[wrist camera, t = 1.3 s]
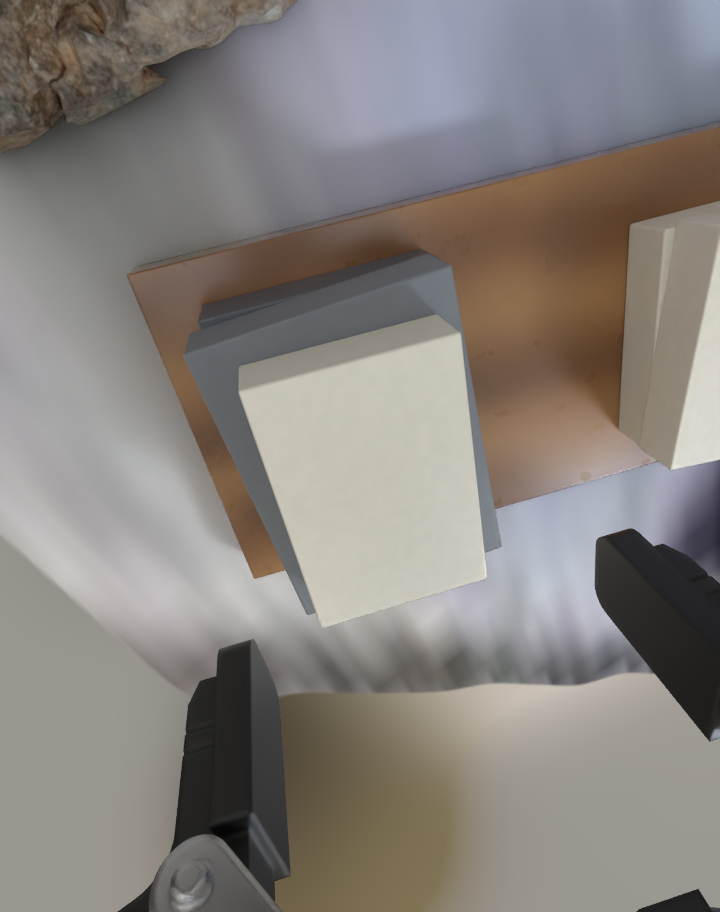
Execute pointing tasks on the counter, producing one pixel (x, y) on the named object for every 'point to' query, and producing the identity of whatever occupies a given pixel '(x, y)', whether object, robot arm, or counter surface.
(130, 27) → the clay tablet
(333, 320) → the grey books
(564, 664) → the counter surface
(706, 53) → the counter surface
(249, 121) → the counter surface
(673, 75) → the counter surface
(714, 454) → the white books
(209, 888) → the robot arm
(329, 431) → the white book
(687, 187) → the shelf board
